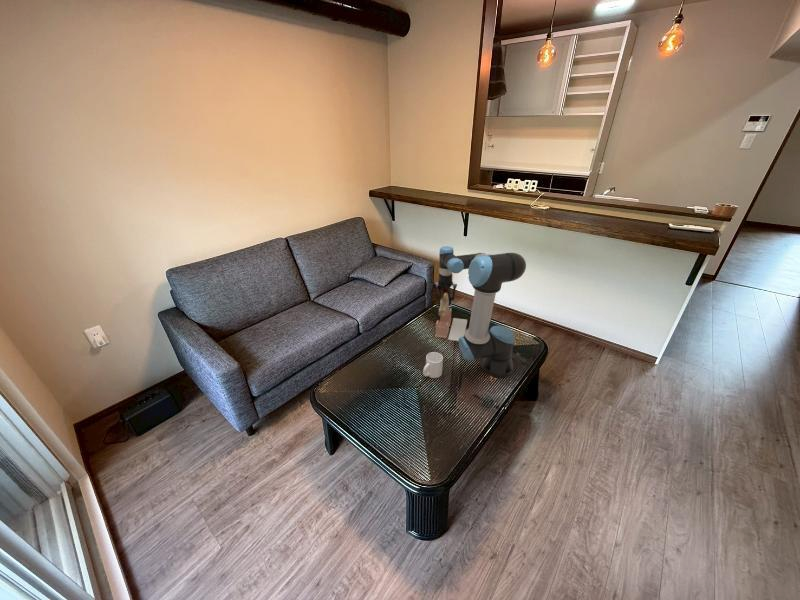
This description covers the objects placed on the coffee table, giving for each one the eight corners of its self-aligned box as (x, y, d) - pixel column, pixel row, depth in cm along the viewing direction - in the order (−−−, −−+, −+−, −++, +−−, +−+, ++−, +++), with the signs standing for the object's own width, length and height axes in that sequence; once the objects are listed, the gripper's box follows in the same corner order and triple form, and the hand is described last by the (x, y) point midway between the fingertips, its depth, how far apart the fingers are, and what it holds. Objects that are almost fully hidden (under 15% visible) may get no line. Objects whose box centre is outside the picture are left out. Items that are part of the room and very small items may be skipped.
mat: (467, 320, 196) (467, 319, 196) (463, 342, 176) (463, 341, 176) (453, 318, 199) (453, 318, 198) (447, 340, 178) (448, 339, 178)
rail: (450, 298, 191) (450, 293, 189) (444, 316, 172) (444, 310, 171) (444, 298, 192) (444, 293, 190) (438, 315, 173) (438, 310, 172)
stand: (451, 319, 198) (452, 307, 193) (446, 338, 180) (447, 325, 176) (440, 318, 199) (441, 306, 195) (435, 336, 182) (435, 324, 178)
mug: (429, 385, 147) (429, 368, 142) (417, 376, 153) (417, 360, 148) (445, 373, 154) (446, 357, 149) (433, 365, 160) (434, 349, 155)
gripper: (461, 272, 173) (459, 307, 184) (432, 270, 177) (432, 305, 188) (459, 277, 167) (457, 314, 177) (430, 275, 171) (429, 310, 182)
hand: (444, 309), depth 183 cm, fingers closed on rail, 3 cm apart
